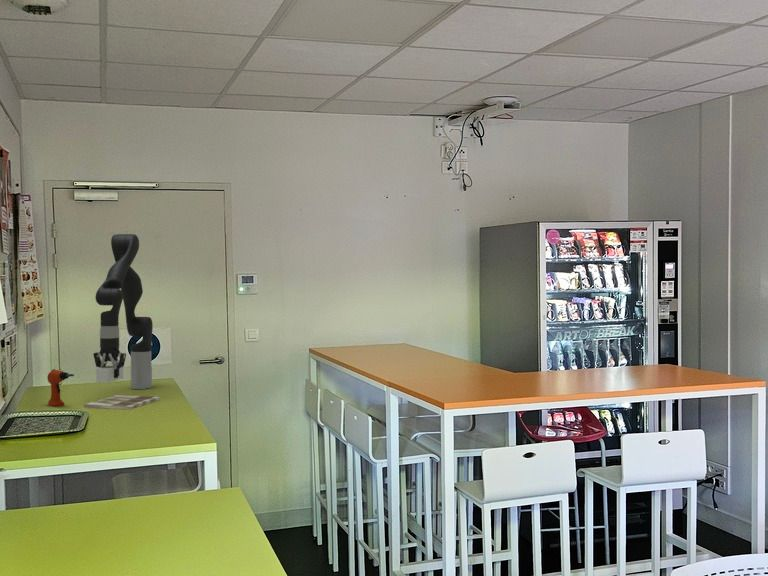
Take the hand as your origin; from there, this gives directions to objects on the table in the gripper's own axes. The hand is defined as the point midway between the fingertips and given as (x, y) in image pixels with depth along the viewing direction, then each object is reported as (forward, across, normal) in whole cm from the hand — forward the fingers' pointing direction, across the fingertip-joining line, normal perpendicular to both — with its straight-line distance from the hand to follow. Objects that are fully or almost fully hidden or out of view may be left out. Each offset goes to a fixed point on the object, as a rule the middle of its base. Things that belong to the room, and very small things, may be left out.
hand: (109, 377), depth 320 cm
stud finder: (+1, 0, 0) cm, 1 cm away
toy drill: (+11, +14, +12) cm, 21 cm away
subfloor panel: (+10, -6, 0) cm, 12 cm away
